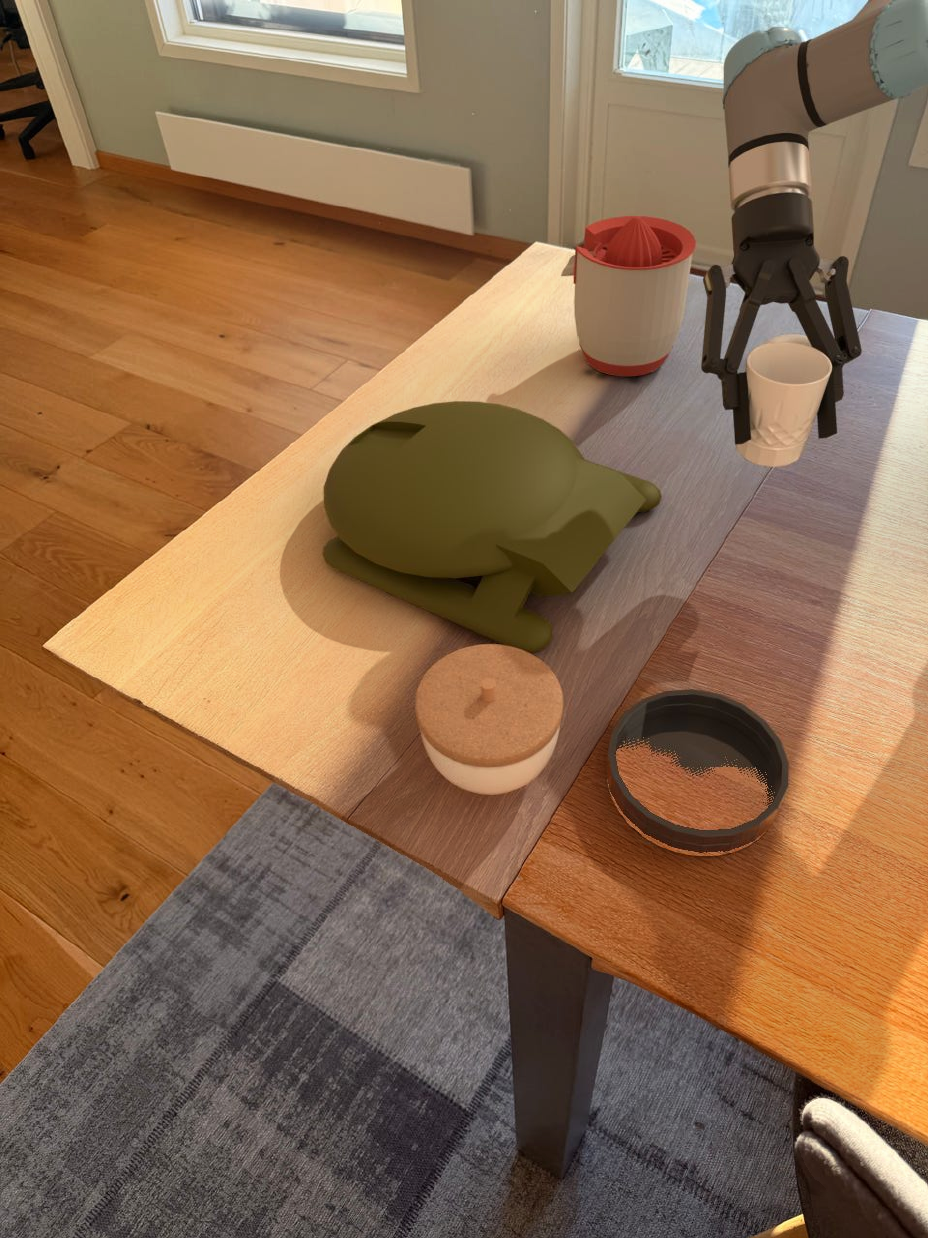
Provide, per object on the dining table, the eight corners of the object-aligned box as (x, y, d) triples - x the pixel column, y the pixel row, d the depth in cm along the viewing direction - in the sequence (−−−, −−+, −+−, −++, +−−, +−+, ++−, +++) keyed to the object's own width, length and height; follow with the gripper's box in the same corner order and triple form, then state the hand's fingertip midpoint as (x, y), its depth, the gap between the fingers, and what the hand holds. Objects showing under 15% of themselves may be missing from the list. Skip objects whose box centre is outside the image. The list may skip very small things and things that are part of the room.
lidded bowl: (522, 842, 77) (522, 769, 69) (397, 784, 82) (383, 709, 74) (582, 735, 85) (588, 658, 77) (464, 688, 89) (459, 610, 81)
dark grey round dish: (783, 729, 84) (791, 705, 82) (777, 875, 74) (786, 853, 72) (619, 700, 87) (622, 676, 85) (593, 836, 77) (595, 814, 75)
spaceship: (667, 499, 108) (678, 429, 101) (537, 667, 91) (538, 598, 84) (427, 415, 122) (422, 350, 115) (275, 547, 105) (258, 480, 98)
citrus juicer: (571, 323, 138) (577, 186, 123) (687, 336, 133) (707, 197, 119) (546, 377, 127) (549, 235, 113) (670, 393, 123) (689, 248, 109)
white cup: (768, 481, 90) (790, 394, 83) (713, 443, 95) (729, 357, 88) (824, 453, 93) (850, 366, 86) (767, 417, 98) (787, 332, 91)
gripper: (858, 214, 92) (871, 438, 93) (657, 228, 92) (672, 452, 93) (893, 180, 85) (908, 424, 86) (675, 195, 85) (691, 439, 85)
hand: (785, 438), depth 89 cm, fingers closed on white cup, 8 cm apart
